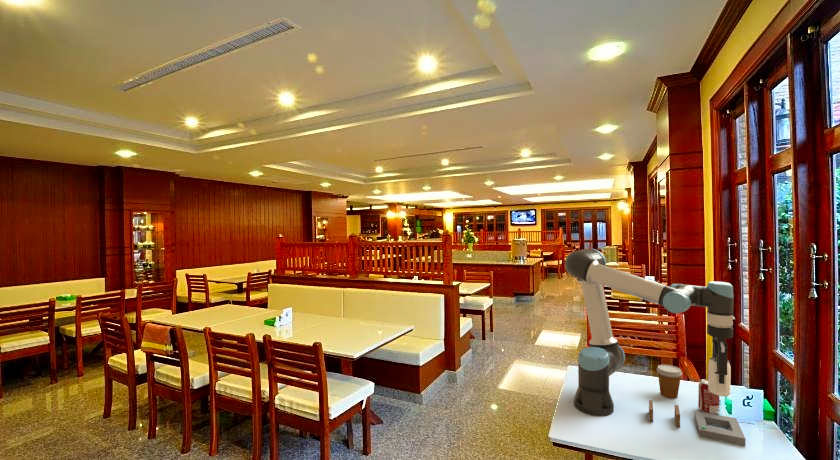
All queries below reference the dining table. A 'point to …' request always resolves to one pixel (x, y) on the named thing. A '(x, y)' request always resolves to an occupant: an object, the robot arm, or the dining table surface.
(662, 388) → the disposable coffee cup
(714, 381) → the can
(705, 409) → the soda can
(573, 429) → the dining table surface
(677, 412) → the brown narrow blocks
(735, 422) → the port block
